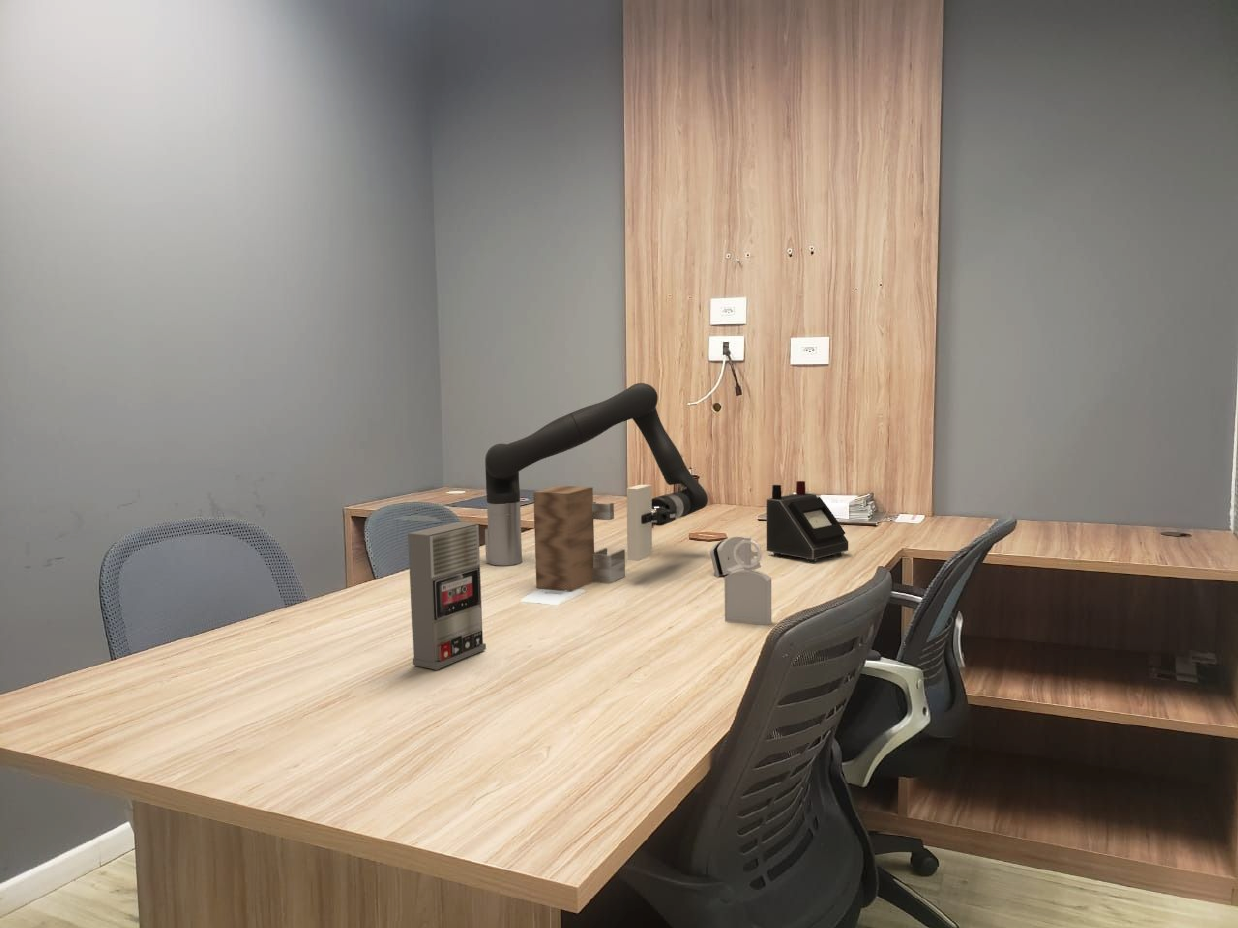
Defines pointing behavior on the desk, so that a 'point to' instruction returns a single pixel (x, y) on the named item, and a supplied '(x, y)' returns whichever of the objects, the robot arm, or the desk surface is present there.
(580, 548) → the cabinet
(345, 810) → the desk surface
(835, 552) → the voltmeter
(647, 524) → the beige rectangular block
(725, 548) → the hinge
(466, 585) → the cassette tape recorder
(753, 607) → the gravestone
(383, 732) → the desk surface
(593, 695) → the desk surface
